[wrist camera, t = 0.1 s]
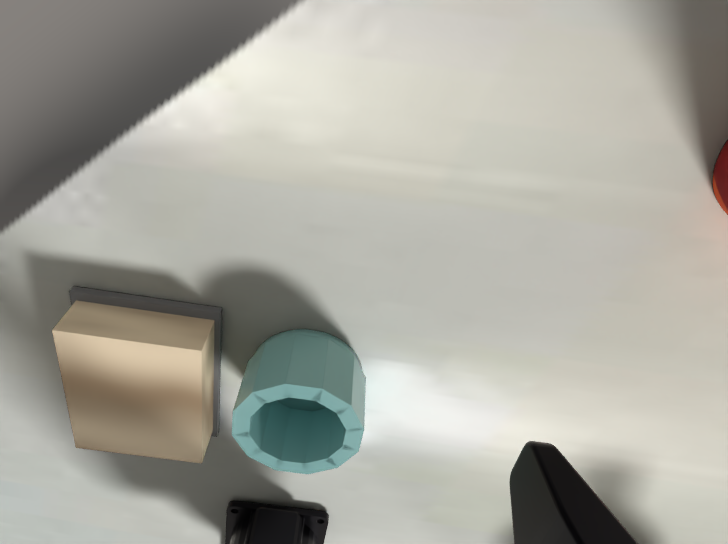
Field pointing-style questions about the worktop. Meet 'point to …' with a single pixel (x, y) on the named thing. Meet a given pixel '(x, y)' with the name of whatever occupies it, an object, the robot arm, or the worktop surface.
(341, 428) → the ramekin
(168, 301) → the mat
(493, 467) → the worktop surface
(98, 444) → the board
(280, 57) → the worktop surface
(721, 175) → the paper cup
